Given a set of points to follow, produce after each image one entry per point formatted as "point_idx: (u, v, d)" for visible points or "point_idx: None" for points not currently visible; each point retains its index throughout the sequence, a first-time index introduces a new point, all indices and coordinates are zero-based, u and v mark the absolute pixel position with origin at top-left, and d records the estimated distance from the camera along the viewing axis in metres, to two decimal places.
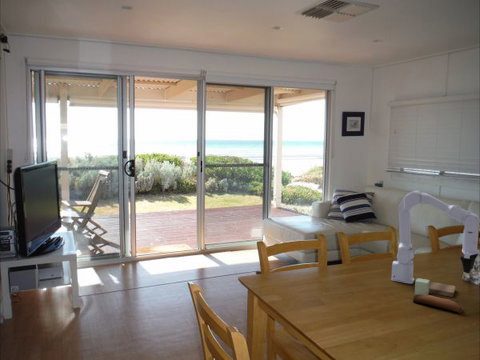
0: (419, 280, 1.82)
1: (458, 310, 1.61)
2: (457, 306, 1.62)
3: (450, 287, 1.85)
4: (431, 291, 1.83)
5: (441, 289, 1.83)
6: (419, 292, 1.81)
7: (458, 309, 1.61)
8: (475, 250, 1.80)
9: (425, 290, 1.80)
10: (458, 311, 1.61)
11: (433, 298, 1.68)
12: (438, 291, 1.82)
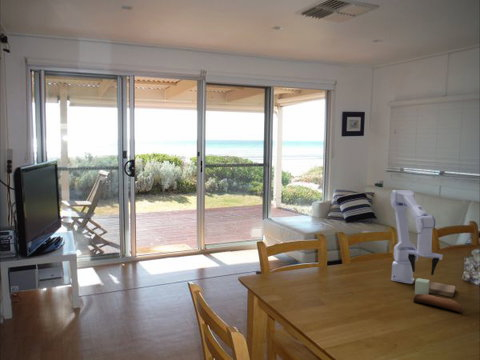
0: (419, 280, 1.82)
1: (459, 309, 1.61)
2: (458, 305, 1.62)
3: (450, 287, 1.85)
4: (431, 291, 1.83)
5: (441, 289, 1.83)
6: (419, 292, 1.81)
7: (459, 308, 1.61)
8: (419, 251, 1.80)
9: (425, 290, 1.80)
10: (459, 310, 1.61)
11: (434, 298, 1.69)
12: (438, 291, 1.82)
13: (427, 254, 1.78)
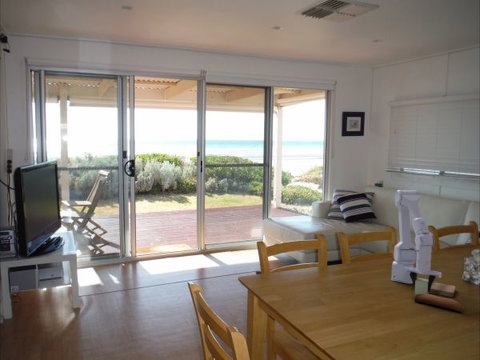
0: (419, 280, 1.82)
1: (459, 309, 1.62)
2: (458, 305, 1.62)
3: (450, 287, 1.85)
4: (431, 291, 1.83)
5: (441, 289, 1.83)
6: (419, 292, 1.81)
7: (459, 308, 1.62)
8: (418, 269, 1.80)
9: (425, 290, 1.80)
10: (459, 310, 1.62)
11: (434, 297, 1.69)
12: (438, 291, 1.82)
13: (426, 272, 1.79)
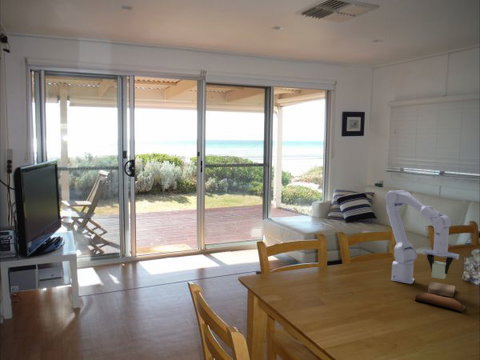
0: (436, 263, 1.84)
1: (460, 308, 1.62)
2: (459, 304, 1.63)
3: (450, 287, 1.85)
4: (431, 291, 1.83)
5: (441, 289, 1.83)
6: (436, 275, 1.82)
7: (460, 307, 1.62)
8: (436, 251, 1.82)
9: (442, 273, 1.81)
10: (460, 309, 1.62)
11: (435, 297, 1.70)
12: (438, 291, 1.82)
13: (444, 254, 1.81)
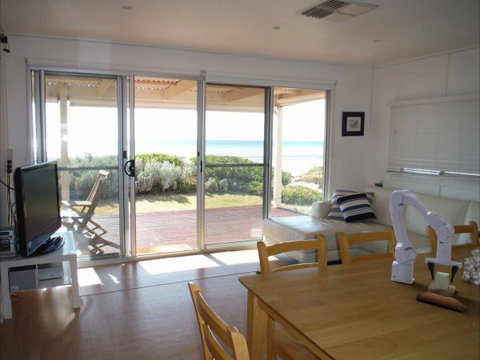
0: (439, 274, 1.85)
1: (460, 308, 1.63)
2: (459, 304, 1.63)
3: (450, 287, 1.85)
4: (431, 291, 1.83)
5: (441, 289, 1.83)
6: (439, 285, 1.83)
7: (460, 307, 1.63)
8: (439, 259, 1.83)
9: (445, 283, 1.82)
10: (460, 309, 1.63)
11: (436, 296, 1.70)
12: (438, 291, 1.82)
13: (447, 262, 1.81)
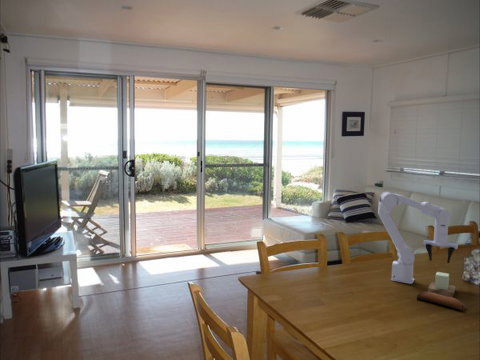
0: (439, 274, 1.85)
1: (460, 307, 1.63)
2: (459, 304, 1.64)
3: (450, 287, 1.85)
4: (431, 291, 1.83)
5: (441, 289, 1.83)
6: (439, 285, 1.83)
7: (460, 307, 1.63)
8: (436, 241, 1.94)
9: (445, 283, 1.82)
10: (460, 308, 1.63)
11: (436, 295, 1.71)
12: (438, 291, 1.82)
13: (443, 244, 1.93)
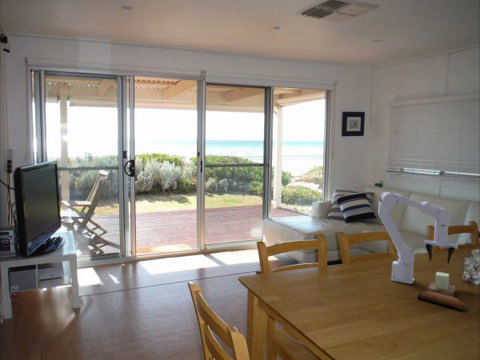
0: (439, 274, 1.85)
1: (461, 307, 1.64)
2: (460, 303, 1.64)
3: (450, 287, 1.85)
4: (431, 291, 1.83)
5: (441, 289, 1.83)
6: (439, 285, 1.83)
7: (461, 306, 1.64)
8: (436, 241, 1.94)
9: (445, 283, 1.82)
10: (461, 308, 1.64)
11: (437, 295, 1.71)
12: (438, 291, 1.82)
13: (443, 244, 1.93)
